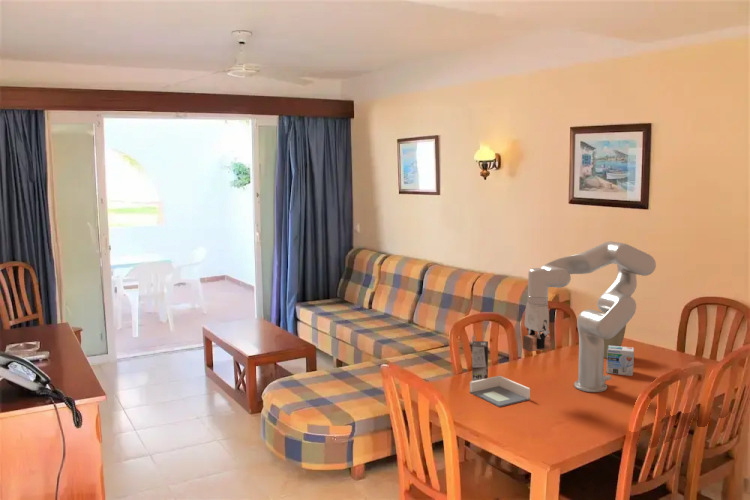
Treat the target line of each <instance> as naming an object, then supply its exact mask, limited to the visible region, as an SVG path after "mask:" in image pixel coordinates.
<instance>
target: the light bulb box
mask: <svg viewBox="0 0 750 500" xmlns="http://www.w3.org/2000/svg"><path fill="white" fill-rule="evenodd" d="M634 359H635V348H634V347H632V346H631V347H630V346H622V345H621V346H610V345H609V346H608V352H607V358H606V374H609V375H611V374H613V375H620V376H630V377H633V375H634V366H635V365H634V363H635V361H634Z"/></svg>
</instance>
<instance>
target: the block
mask: <svg viewBox="0 0 750 500" xmlns="http://www.w3.org/2000/svg"><path fill="white" fill-rule="evenodd" d="M522 338H523V339H522V341H523V342H522V344H523V345H522V346H523V347H522V348H523V349H524V350H526V351H528V352H536V351H537V352H538V351H544V350H550V348H551V346H550V343H551V336H550V335H549V334H548V335H547V336H546V338H545V347H544V349H537V339H538V333H537V334H535V335H523V337H522Z"/></svg>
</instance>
